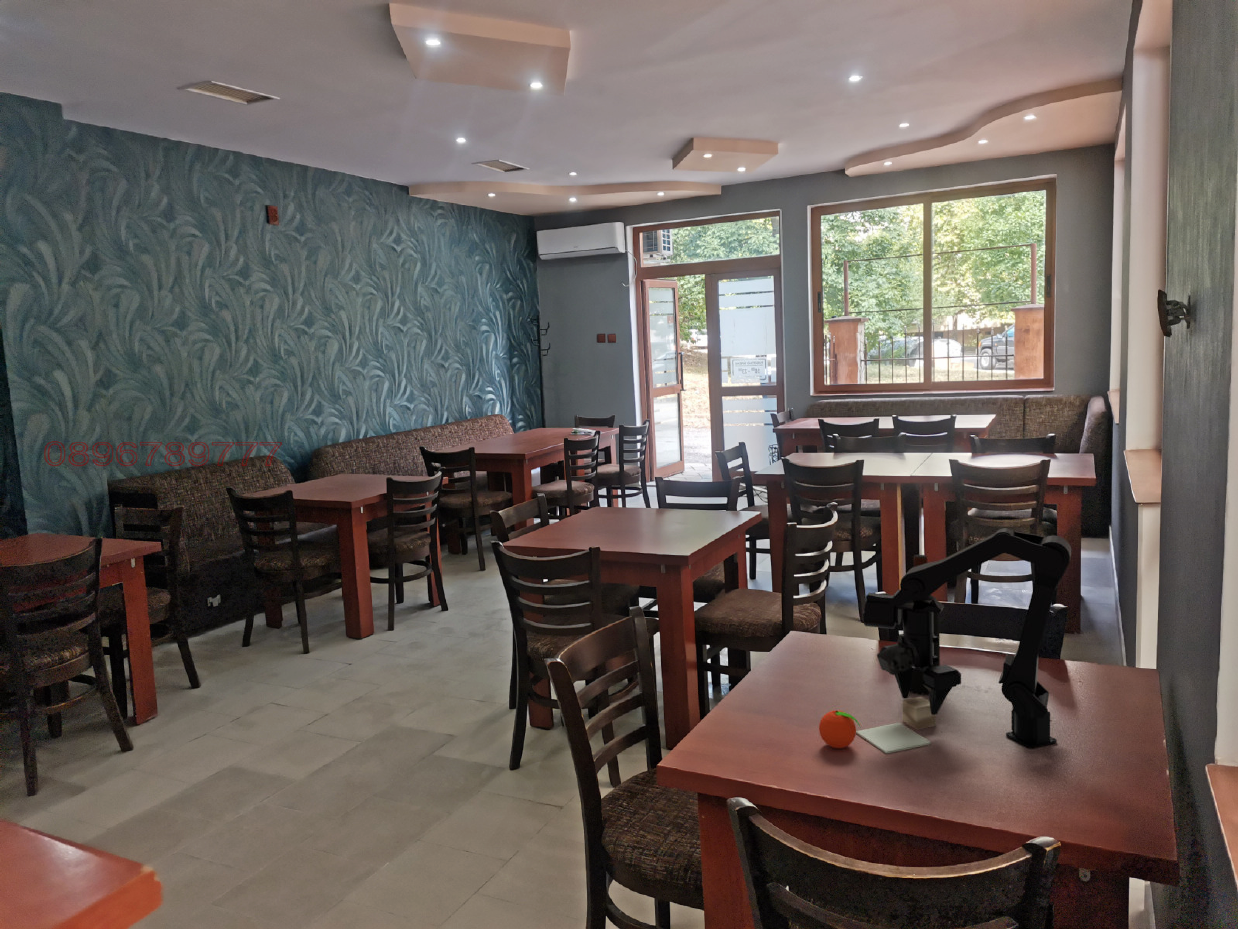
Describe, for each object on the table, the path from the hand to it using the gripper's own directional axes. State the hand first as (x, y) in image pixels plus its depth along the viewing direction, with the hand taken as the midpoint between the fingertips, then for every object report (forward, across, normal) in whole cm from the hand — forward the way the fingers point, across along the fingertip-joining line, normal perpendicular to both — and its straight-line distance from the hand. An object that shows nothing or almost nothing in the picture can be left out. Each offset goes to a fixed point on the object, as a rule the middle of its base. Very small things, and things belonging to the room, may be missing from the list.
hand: (919, 706), depth 176 cm
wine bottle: (+4, -15, +12) cm, 20 cm away
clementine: (+4, +3, -20) cm, 21 cm away
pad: (+4, +4, -9) cm, 11 cm away
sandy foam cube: (+4, 0, 0) cm, 4 cm away
